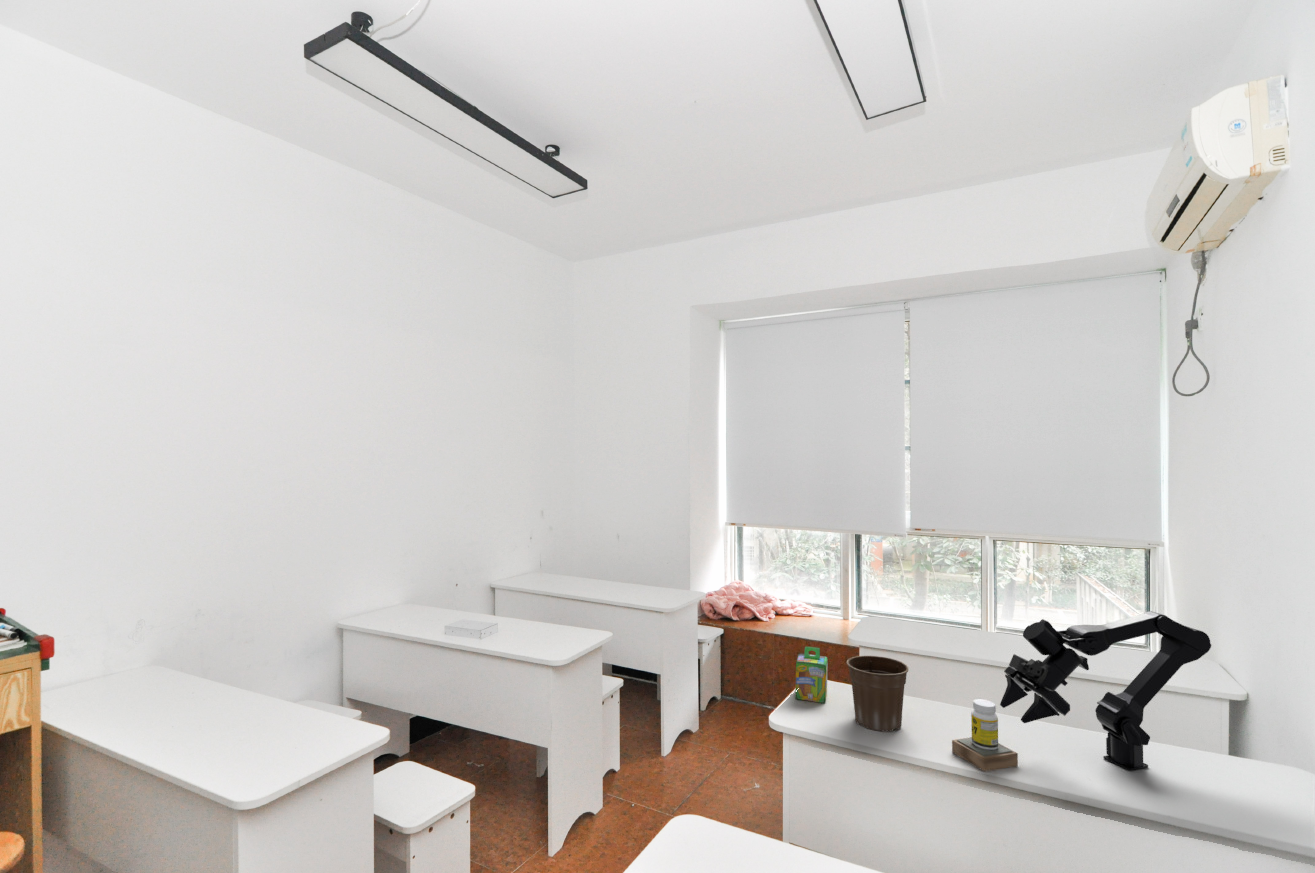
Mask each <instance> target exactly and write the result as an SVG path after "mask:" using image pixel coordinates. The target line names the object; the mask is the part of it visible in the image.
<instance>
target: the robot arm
mask: <svg viewBox="0 0 1315 873" xmlns="http://www.w3.org/2000/svg"><path fill="white" fill-rule="evenodd" d="M1155 633H1157V634H1159V635H1161V638H1160V648H1159V651H1158V652H1157V653H1156V654H1155V655H1154V657H1152V659H1151V660H1150V661H1149V662H1148V663H1147V664H1146V665H1145V666H1144V667H1143V669H1142V670H1141V671H1140V672H1139V673H1138V674H1137V675H1136V676H1135V678H1133V680H1132V681H1131V682H1130V683H1129V684H1128V685H1127V686H1126V688H1124V690H1123V691H1122V692H1119V693H1117V694H1114V693H1113V692H1111V691H1107V692H1106V693H1105V694H1104V696H1103V697H1102V699H1100V700H1099V701H1097V702H1096V704H1097V706H1096V708H1095V717H1096V719H1097V720H1098V722H1099V723H1100V725H1101V726H1102V729H1103V730H1104V731H1106V732H1107V737H1106V738H1105V741H1106V742H1105V743H1106V746H1105V747H1106V749H1105V750H1106V751H1105V752H1106V755H1104V756H1102V757H1103V759H1104V760H1106V761H1108V762H1110V763H1113V764H1115V765H1116V766H1119V767H1120V768H1123V769H1126V771H1127V770H1128V771H1135V770H1141V769H1147V768H1149V764H1147V763H1145V762H1144V746H1148V745H1149V742H1150V740H1151V736H1150V735H1149V734H1148V733H1147V732H1146V731H1145V730H1144V728H1142V726H1141V725H1142V723H1143V721H1144V720H1143V719H1144V709H1145V708H1146V706H1148V704H1149V703H1150V702H1151V701H1152V700H1153V699H1154V698H1155V696H1156V695H1157V694H1158V693H1159V692H1160V691H1161V690H1162V689H1163V687H1164V686H1166V684H1167V683H1168V682H1169V681H1170V680H1171V679H1172V678H1173V676H1174V675H1175V674H1176V673H1177V672H1178V671H1179V670H1180V668H1182V666H1184V665H1185V664H1189V663H1192V662H1196V661H1197V660H1199V659H1201V658H1203V657H1204V656H1205V655H1206V654H1207V653H1208V652H1209V651H1210V650H1211V648H1212V644H1211V639H1210V636H1209V635H1208V634H1207V633H1206V632H1205V631H1202V630H1200V629H1195V628H1193V627H1189V626H1186V625H1184V624H1182V623H1179V622H1177V621H1175V620H1173V619H1172V618H1170V617H1169V616H1167V615H1165V614H1162V613H1158V612H1156V611H1152V610H1151V611H1150V610H1149V611H1145V612H1144V613H1142V614H1139V615H1135V616H1134V615H1133V616H1131V617H1126V618H1123V619H1119V620H1115V621H1112V622H1107V623H1103V624H1080V625H1078V624H1077V625H1071V626H1069V627H1067V628H1066V629H1062V630H1056V629H1055V628H1054V627H1053V626H1052V623H1050V622H1049V621H1048V620H1046V619H1044V618H1043V619H1041V620H1040V621H1038V622H1034V623H1032V624H1030V625H1027V626H1026V627H1025V629H1024V630H1023V632H1022V636H1023V638H1024V639H1025V640H1026V641H1027V642H1028V643H1029V644H1030V645H1031V646H1032V647H1033V648H1034V649H1035V650H1036V651H1037V652H1038V653H1039V654H1040V655H1041V656H1046V657H1045V659H1044V660H1040V659H1036V660H1034V659H1033V658H1030V659H1029V660H1028V659H1026V658H1023V657H1021V656H1020V655H1017V654H1015V653H1014V654H1013V655H1012V657H1011V660H1010V662H1009V663H1008V666H1007V668H1006V669H1004V671H1003V672H1004V677H1005V678H1006V682H1007V684H1006V685H1007V686H1006V688H1005V691H1004V693H1003V696H1002V699H1001V701H1000V703H999V706H1000V707H1001V708H1003V709H1004V708H1005V709H1006V707H1010V706H1011V705H1012V704H1014V703H1016V702H1017V701H1020V700H1021V699H1023V698H1025V697H1027V696H1029V694H1028V692H1034V695H1033V697H1034V698H1033V699H1034V700H1033V702H1032V704H1031V705H1030V706H1029V707H1028V709H1027V710H1026V711H1025V712H1024V713H1023V715H1022V717H1020V721H1021V722H1022V723H1023V724H1028V723H1030V722H1033V721H1037V720H1041V719H1046V718H1049V717H1054V716H1058V717H1059V716H1060V715H1062V716H1064V717H1066V715H1067V714H1069V712H1071V705H1070V703H1069V702H1068V701H1067V700H1065V698H1064V697H1063V696H1062V695H1060V693H1059V692H1058V691H1056V690H1057V688H1059V687H1060V686H1061V685H1062V686H1064V687H1066V686H1067V685H1068V684H1069V683H1068V681H1066V679H1067V678H1068V677H1070V675H1072V673H1073V672H1074V671H1075V670H1077V668H1078V667H1080V668H1082V669H1084V670H1086V671H1089V670H1090V667H1089V664H1088V658H1087V657H1085V656H1083V655H1080V654H1078V653H1077V652H1080V653H1082V654H1085V655H1087V656H1097V655H1098V654H1100V653H1104V652H1105V651H1107V650H1108V649H1109V648H1110V647H1111V646H1112V645H1115V644H1116V643H1119V642H1125V641H1127V640H1132V639H1135V638H1140V637H1144V636H1147V635H1151V634H1155ZM1064 644H1065V645H1067V646H1068V648H1067V647H1066V646H1065V645H1064Z"/></svg>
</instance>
